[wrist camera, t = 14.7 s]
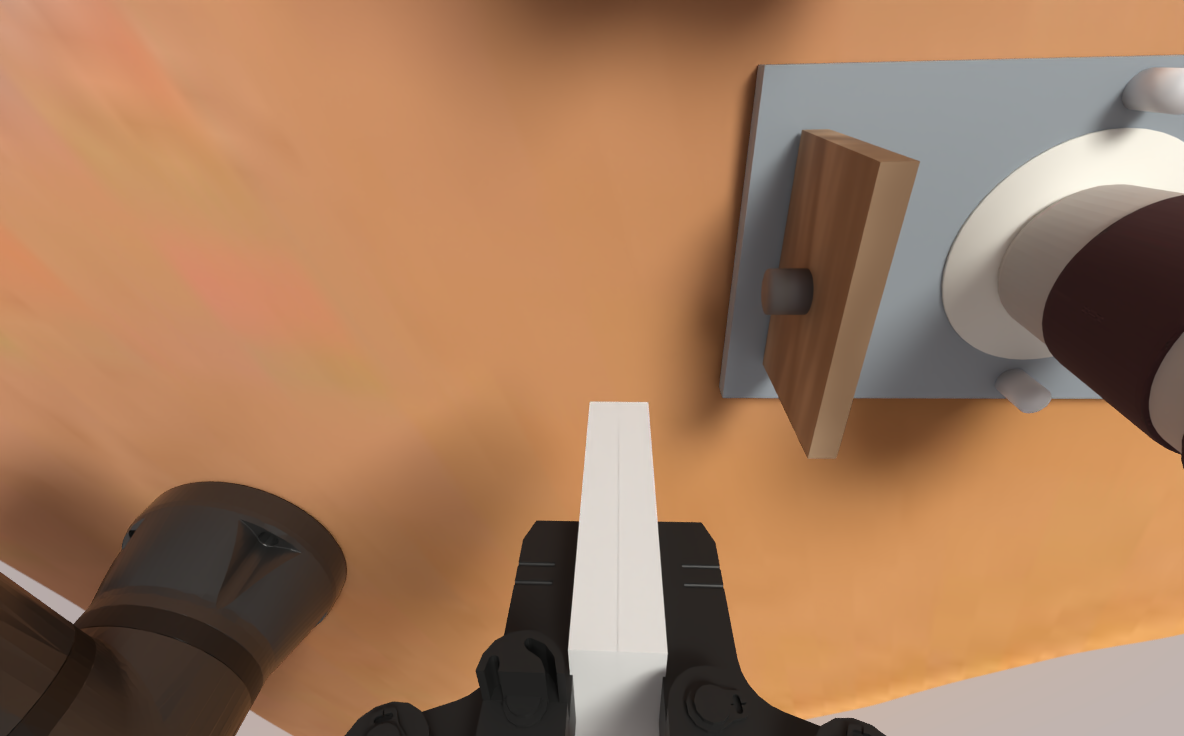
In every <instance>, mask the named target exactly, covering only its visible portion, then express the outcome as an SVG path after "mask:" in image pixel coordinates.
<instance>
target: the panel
mask: <svg viewBox="0 0 1184 736" xmlns="http://www.w3.org/2000/svg"><path fill="white" fill-rule="evenodd" d="M919 164H920V161H918V160H915V159H912V158H909V157H906V156H904V155H901V154H898V153H895V152H892V151H890V150H887V149H884V148H881V147H878V146H876V145H873V144H870V143H867V142H864V141H861V140H859V139H856V138H853V137H850V136H847V135H845V134H842V133H839V132H836V131H833V130H830V129H812V130H802V132H801V138H800V144H799V150H798V156H797V162H796V168H795V174H794V180H793V186H792V192H791V198H790V203H789V209H788V215H787V221H786V227H785V233H784V239H783V245H782V251H781V257H780V263H779V268H776V269H767V270H766V271H765V274H764V277H763V281H762V288H761V302H762V308H763V311H764V313H765V314H766V315H771V317H770V322H769V328H768V334H767V340H766V346H765V352H764V358H763V366H764V368H765V370H766V372H767V374H768V376H769V378H770V381H771V383H772V385H773V387H774V389H775V391H776V393H777V395H778V397H779V399H780V401H781V404H782V406H783V408H784V410H785V412H786V414H787V416H788V418H789V420H790V422H791V424H792V427H793V429H794V431H795V433H796V435H797V437H798V439H799V441H800V443H801V445H802V447H803V449H804V452H805V454H806V456H807V458H808V459H836V458H837V455H838V451H839V448H840V444H841V441H842V437H843V434H844V430H845V426H846V423H847V419H848V416H849V412H850V409H851V405H852V402H853V398H854V395H855V391H856V387H857V384H858V380H859V377H860V373H861V370H862V366H863V363H864V359H865V355H866V352H867V348H868V345H869V341H870V338H871V334H872V331H873V327H874V324H875V320H876V316H877V313H878V309H879V306H880V302H881V299H882V295H883V292H884V288H885V284H886V281H887V277H888V274H889V270H890V267H891V263H892V260H893V256H894V253H895V249H896V245H897V242H898V238H899V235H900V231H901V228H902V224H903V221H904V217H905V214H906V210H907V206H908V203H909V199H910V196H911V192H912V189H913V185H914V182H915V178H916V174H917V171H918V167H919Z"/></svg>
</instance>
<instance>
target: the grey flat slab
mask: <svg viewBox="0 0 1184 736" xmlns="http://www.w3.org/2000/svg"><path fill="white" fill-rule="evenodd" d="M812 129H830V130H833V131H836V132H839V133H842V134H845V135H847V136H850V137H853V138H856V139H859V140H861V141H864V142H867V143H870V144H873V145H876V146H878V147H881V148H884V149H887V150H890V151H892V152H895V153H898V154H901V155H904V156H906V157H909V158H912V159H915V160H918V161H920V164H919V167H918V171H917V174H916V178H915V182H914V185H913V189H912V192H911V196H910V199H909V203H908V206H907V210H906V214H905V217H904V221H903V224H902V228H901V231H900V235H899V238H898V242H897V245H896V249H895V253H894V256H893V260H892V263H891V267H890V270H889V274H888V277H887V281H886V284H885V288H884V292H883V295H882V299H881V302H880V306H879V309H878V313H877V316H876V320H875V324H874V327H873V331H872V334H871V338H870V341H869V345H868V348H867V352H866V355H865V359H864V363H863V366H862V370H861V373H860V377H859V380H858V384H857V387H856V391H855V395H854V398H1007V399H1008V400H1009V401H1010V402H1011V403H1012V404H1014V405H1015V406H1016V407H1017V408H1018V409H1019V410H1020V411H1022V412H1024V413H1034V412H1037V411H1040V410H1042V409H1043V408H1045V407H1046V406H1047V405H1048V404H1049V402H1050V401H1051V399H1103V398H1102V397H1100V396H1099V395H1098V394H1097V393H1095V392H1094V391H1093V390H1092V389H1091V388H1089V387H1088V386H1087V385H1086V384H1085V383H1083V382H1082V381H1081V380H1080V379H1078V378H1077V377H1076V376H1075V375H1074V374H1072V373H1071V372H1070V371H1069V370H1067V369H1066V368H1065V367H1064V366H1063V365H1061V364H1060V363H1059V362H1058V361H1057V360H1056V359H1055V358H1054V357H1053V355H1052V354H1051V353H1050V352H1049V350H1048V348H1047V346H1046V345H1045V344H1044V343H1043V342H1042V341H1040V340H1039V339H1038V338H1037V337H1035V336H1034V335H1033V334H1032V333H1030V332H1029V331H1028V330H1027V329H1025V328H1024V327H1023V326H1022V325H1020V324H1019V323H1018V322H1017V321H1015V320H1014V319H1013V318H1012V317H1011V316H1010V315H1009V314H1008V313H1007V311H1006V310H1005V308H1004V307H1003V305H1002V303H1001V301H1000V297H999V294H998V273H999V269H1000V266H1001V263H1002V260H1003V258H1004V256H1005V253H1006V251H1007V250H1008V248H1009V246H1010V245H1011V243H1012V241H1013V240H1014V239H1015V238H1016V236H1017V235H1018V234H1019V232H1020V231H1021V230H1022V229H1023V228H1024V227H1025V226H1026V225H1027V224H1028V223H1029V222H1030V221H1031V220H1032V219H1033V218H1035V217H1036V216H1037V215H1038V214H1039V213H1040V212H1042V211H1043V210H1045V209H1046V208H1048V207H1049V206H1050V205H1052V204H1054V203H1055V202H1057V201H1059V200H1061V199H1063V198H1064V197H1067V196H1069V195H1071V194H1074V193H1076V192H1079V191H1081V190H1085V189H1089V188H1093V187H1096V186H1102V185H1114V184H1127V185H1135V186H1141V187H1147V188H1153V189H1160V190H1166V191H1172V192H1178V193H1184V55H1149V56H1107V57H1064V58H1022V59H980V60H937V61H895V62H853V63H811V64H768V65H758V71H757V80H756V88H755V96H754V104H753V112H752V121H751V129H750V137H749V145H748V153H747V162H746V170H745V178H744V186H743V194H742V203H741V211H740V219H739V227H738V235H737V244H736V252H735V260H734V268H733V276H732V285H731V293H730V301H729V309H728V317H727V325H726V334H725V342H724V350H723V358H722V366H721V375H720V383H719V388H720V392H721V395H722V398H779V397H778V395H777V393H776V391H775V389H774V387H773V385H772V383H771V381H770V378H769V376H768V374H767V372H766V370H765V368H764V366H763V358H764V352H765V346H766V340H767V334H768V328H769V322H770V317H771V315H766V314H765V313H764V311H763V308H762V302H761V288H762V281H763V277H764V274H765V271H766V270H767V269H776V268H779V263H780V257H781V251H782V245H783V239H784V233H785V227H786V221H787V215H788V209H789V203H790V198H791V192H792V186H793V180H794V174H795V168H796V162H797V156H798V150H799V144H800V138H801V132H802V130H812Z"/></svg>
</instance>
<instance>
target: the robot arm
mask: <svg viewBox="0 0 1184 736" xmlns="http://www.w3.org/2000/svg"><path fill="white" fill-rule="evenodd" d="M719 566H720V565H719V560H718V554H717V549H716V544H715V541H714V540H713V538H712V537H711V536H710V534H709V533H708V531H707V530H706V528H705V527H704V525H703V524H702V523H696V522H657V509H656V496H655V483H654V470H653V457H652V444H651V432H650V419H649V406H648V402H590V406H589V418H588V429H587V440H586V452H585V463H584V474H583V486H582V497H581V508H580V520H579V521H536V522H535V524H534V525H533V526H532V528H531V529H530V531H529V532H528V533H527V535H526V536H525V538H524V539H523V543H522V548H521V553H520V558H519V566H518V568H517V573H516V578H515V585H514V588H513V593H512V598H511V603H510V608H509V613H508V618H507V623H506V628H505V633H504V636H503V637H501V638H499V639H497V640H495V641H494V642H493V643H492V644H491V646H490V647H489V648H488V649H487V650H486V651H485V652H484V653H483V655H482V657H481V659H480V662H479V664H478V666H477V669H476V674H477V678H478V682H479V686H480V688H478V689H477V690H475V691H474V692H473V693H471V694H470V695H468V696H466V697H464V698H462V699H459V700H457V701H454V702H451V703H448V704H445V705H442V706H439V707H436V708H433V709H429V710H426V711H423V712H421V711H420V710H419V709H417V708H416V707H414V706H413V705H411V704H410V703H403V702H390V703H387V704H384V705H381V706H377V707H375V708H373V709H372V710H371V711H369V712H368V713H366V714H365V715H363V716H362V717H361V718H359V719H358V720H357V722H356V723H355V724H354V725H353V726H352V728H351V729H350V730H349V731H348V732H347V734H346V735H345V736H886V735H884V734H883V733H881V732H880V731H879V730H878V729H876V728H875V727H874V726H872V725H870V724H867V723H865V722H862V721H859V720H857V719H854V718H835V719H833V720H831V721H829V722H827V723H825V724H823V725H822V726H818V725H816V724H813V723H811V722H808V721H806V720H803V719H801V718H798V717H795V716H793V715H790V714H788V713H785V712H783V711H781V710H779V709H777V708H775V707H773V706H771V705H770V704H768V703H767V702H766V701H764V700H763V699H762V698H761V697H759V696H758V695H757V694H756V692H755V691H754V690H753V689H752V688H751V687H750V685H749V684H748V683H747V681H746V679H745V677H744V676H743V674H742V672H741V669H740V666H739V662H738V659H737V654H736V648H735V643H734V638H733V633H732V628H731V622H730V617H729V612H728V607H727V601H726V596H725V591H724V589H723V580H722V575H721V570H720V567H719ZM345 579H346V564H345V560H344V557H343V554H342V552H341V550H340V548H339V546H338V544H337V543H336V541H335V540H334V539H333V537H332V536H331V535H330V534H329V532H328V531H327V530H326V529H325V528H324V527H323V526H322V525H321V524H320V523H318V522H317V521H316V520H315V519H314V518H312V517H311V516H310V515H308V514H307V513H306V512H304V511H303V510H301V509H299V508H298V507H296V506H294V505H293V504H291V503H289V502H287V501H285V500H283V499H281V498H279V497H277V496H274V495H272V494H269V493H267V492H264V491H261V490H258V489H254V488H251V487H247V486H243V485H237V484H231V483H223V482H196V483H190V484H185V485H181V486H178V487H175V488H172V489H170V490H168V491H166V492H165V493H163V494H162V495H160V496H159V497H158V498H157V499H156V500H155V501H154V502H153V503H152V504H151V505H150V506H149V507H148V508H147V509H146V510H145V511H144V512H143V513H141V514H140V515H139V516H138V517H137V519H136V520H135V521H134V522H133V523H132V525H131V526H130V528H129V529H128V531H127V533H126V535H125V537H124V540H123V543H122V550H121V552H120V553H119V555H118V556H117V557H116V559H115V560H114V562H113V564H112V565H111V567H110V569H109V570H108V572H107V574H106V576H105V578H104V579H103V581H102V583H101V585H100V587H99V589H98V591H97V593H96V595H95V597H94V599H93V601H92V603H91V605H90V606H89V608H88V609H87V610H86V611H85V612H84V613H83V614H82V615H81V617H80V618H79V619H78V620H77V621H76V622H75V623H74V624H72V623H71V622H69V621H68V620H66V619H65V618H64V617H62V616H61V615H59V614H58V613H57V612H55V611H54V610H52V609H51V608H50V607H48V606H47V605H45V604H44V603H43V602H41V601H40V600H39V599H37V598H36V597H34V596H33V595H31V594H30V593H29V592H27V591H26V590H24V589H23V588H22V587H20V586H19V585H18V584H16V583H15V582H13V581H12V580H11V579H9V578H8V577H6V576H5V575H4V574H2V573H1V572H0V736H235V735H236V733H237V732H238V730H239V728H240V726H241V724H242V722H243V721H244V719H245V717H246V715H247V713H248V711H249V710H250V708H251V706H252V704H253V703H254V701H255V699H256V697H257V695H258V694H259V692H260V690H261V688H262V686H263V684H264V683H265V681H266V679H267V678H268V677H269V675H270V674H271V673H272V672H273V671H274V670H275V669H276V668H277V667H278V666H279V665H280V664H281V663H282V662H283V661H284V660H285V658H286V657H287V656H288V655H289V654H290V653H291V652H292V651H293V650H294V649H295V648H296V647H297V646H298V645H299V644H300V642H301V641H302V640H303V639H304V638H305V637H306V636H307V635H308V634H309V632H310V631H311V630H312V629H313V628H314V627H315V626H316V625H318V624H319V623H320V622H321V621H322V620H323V619H324V618H325V617H326V616H327V615H328V613H329V612H330V610H331V609H332V607H333V605H334V603H335V601H336V599H337V597H338V595H339V593H340V591H341V589H342V587H343V585H344V583H345Z"/></svg>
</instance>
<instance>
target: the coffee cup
mask: <svg viewBox="0 0 1184 736" xmlns="http://www.w3.org/2000/svg"><path fill="white" fill-rule="evenodd" d="M998 294H999V297H1000V301H1001V303H1002V305H1003V307H1004V308H1005V310H1006V311H1007V313H1008V314H1009V315H1010V316H1011V317H1012V318H1013V319H1014V320H1015V321H1017V322H1018V323H1019V324H1020V325H1022V326H1023V327H1024V328H1025V329H1027V330H1028V331H1029V332H1030V333H1032V334H1033V335H1034V336H1035V337H1037V338H1038V339H1039V340H1040V341H1042V342H1043V343H1044V344H1045V345H1046V346H1047V348H1048V350H1049V352H1050V353H1051V354H1052V355H1053V357H1054V358H1055V359H1056V360H1057V361H1058V362H1059V363H1060V364H1061V365H1063V366H1064V367H1065V368H1066V369H1067V370H1069V371H1070V372H1071V373H1072V374H1074V375H1075V376H1076V377H1077V378H1078V379H1080V380H1081V381H1082V382H1083V383H1085V384H1086V385H1087V386H1088V387H1089V388H1091V389H1092V390H1093V391H1094V392H1095V393H1097V394H1098V395H1099V396H1100V397H1102V398H1103V399H1104V400H1105V401H1106V402H1108V403H1109V404H1110V405H1111V406H1113V407H1114V408H1115V409H1116V410H1117V411H1119V412H1120V413H1121V414H1122V415H1124V416H1125V417H1126V418H1127V419H1128V420H1130V421H1131V422H1132V423H1133V424H1134V425H1136V426H1137V427H1138V428H1139V429H1141V430H1142V431H1143V432H1144V433H1145V434H1147V435H1148V436H1149V437H1150V438H1152V439H1153V440H1154V441H1156V442H1157V443H1159V444H1160V445H1162V446H1164V447H1165V448H1167V449H1169V450H1171V451H1173V452H1175V453H1178V454H1181V461H1182V464H1183V468H1184V193H1178V192H1172V191H1166V190H1160V189H1153V188H1147V187H1141V186H1135V185H1127V184H1114V185H1102V186H1096V187H1093V188H1089V189H1085V190H1081V191H1079V192H1076V193H1074V194H1071V195H1069V196H1067V197H1064V198H1063V199H1061V200H1059V201H1057V202H1055V203H1054V204H1052V205H1050V206H1049V207H1048V208H1046V209H1045V210H1043V211H1042V212H1040V213H1039V214H1038V215H1037V216H1036V217H1035V218H1033V219H1032V220H1031V221H1030V222H1029V223H1028V224H1027V225H1026V226H1025V227H1024V228H1023V229H1022V230H1021V231H1020V232H1019V234H1018V235H1017V236H1016V238H1015V239H1014V240H1013V241H1012V243H1011V245H1010V246H1009V248H1008V250H1007V251H1006V253H1005V256H1004V258H1003V260H1002V263H1001V266H1000V269H999V273H998Z"/></svg>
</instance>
